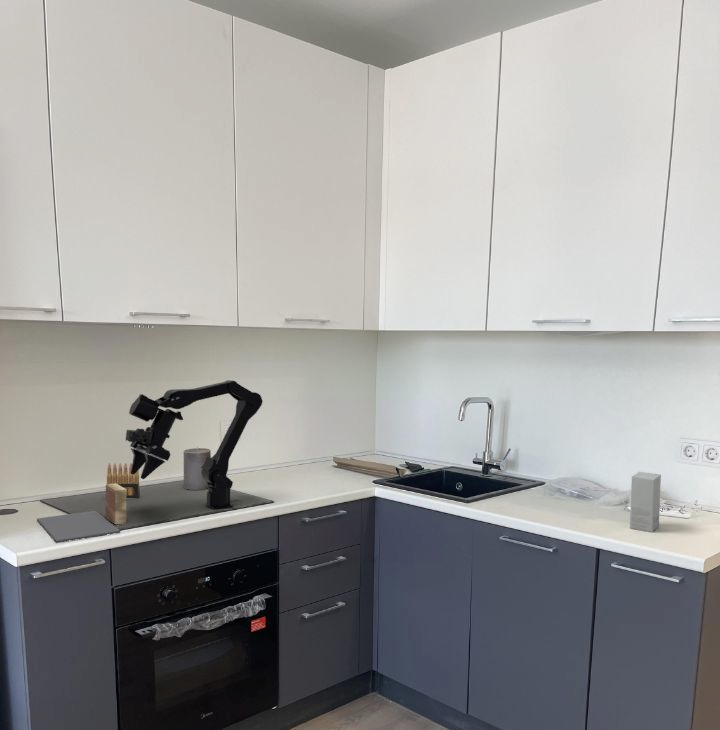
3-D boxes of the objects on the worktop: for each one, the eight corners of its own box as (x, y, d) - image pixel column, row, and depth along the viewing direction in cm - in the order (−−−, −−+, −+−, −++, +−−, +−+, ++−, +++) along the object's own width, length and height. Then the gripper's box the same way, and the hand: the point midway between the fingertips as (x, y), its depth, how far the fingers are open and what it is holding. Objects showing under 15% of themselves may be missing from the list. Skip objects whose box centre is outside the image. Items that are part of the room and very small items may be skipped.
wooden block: (115, 516, 187) (116, 483, 187) (126, 524, 179) (126, 489, 179) (105, 518, 185) (105, 484, 185) (114, 525, 177) (115, 490, 177)
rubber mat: (94, 512, 191) (94, 510, 191) (120, 532, 170) (120, 530, 170) (36, 520, 181) (36, 518, 181) (56, 543, 161) (56, 540, 161)
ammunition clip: (105, 499, 208) (105, 463, 208) (107, 498, 210) (107, 462, 210) (138, 498, 209) (138, 463, 209) (139, 497, 211) (140, 462, 211)
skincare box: (637, 522, 187) (638, 471, 187) (661, 527, 183) (662, 474, 183) (629, 528, 181) (630, 475, 180) (653, 533, 177) (654, 478, 176)
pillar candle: (203, 483, 235) (202, 443, 234) (215, 487, 227) (215, 446, 227) (178, 487, 228) (178, 446, 228) (191, 491, 221) (190, 449, 220)
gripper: (126, 415, 192) (103, 462, 188) (147, 419, 178) (121, 471, 173) (158, 429, 198) (136, 475, 194) (180, 434, 184) (157, 485, 179)
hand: (137, 476), depth 185 cm, fingers open, 9 cm apart
